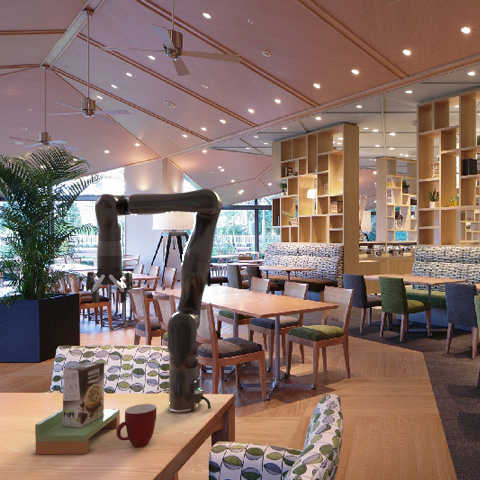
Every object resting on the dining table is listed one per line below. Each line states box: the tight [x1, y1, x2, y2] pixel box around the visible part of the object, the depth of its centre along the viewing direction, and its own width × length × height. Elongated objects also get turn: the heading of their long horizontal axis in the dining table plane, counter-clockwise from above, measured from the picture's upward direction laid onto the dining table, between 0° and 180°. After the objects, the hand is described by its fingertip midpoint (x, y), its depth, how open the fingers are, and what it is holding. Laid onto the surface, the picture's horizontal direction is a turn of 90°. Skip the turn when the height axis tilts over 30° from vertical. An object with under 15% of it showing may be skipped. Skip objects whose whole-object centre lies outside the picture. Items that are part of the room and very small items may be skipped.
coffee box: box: [62, 361, 105, 428], centre depth 140 cm, size 9×6×16 cm
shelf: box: [34, 407, 121, 455], centre depth 140 cm, size 13×20×8 cm, turn 2°
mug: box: [115, 403, 157, 448], centre depth 135 cm, size 10×8×10 cm
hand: (109, 302), depth 163 cm, fingers open, 8 cm apart
